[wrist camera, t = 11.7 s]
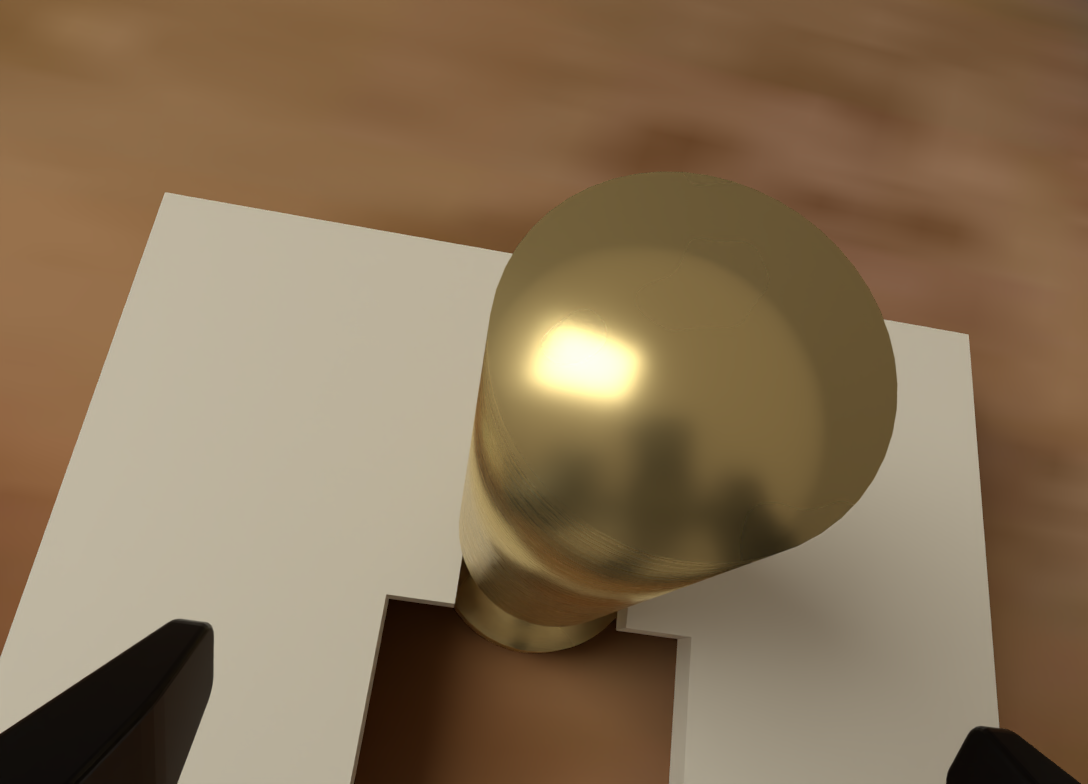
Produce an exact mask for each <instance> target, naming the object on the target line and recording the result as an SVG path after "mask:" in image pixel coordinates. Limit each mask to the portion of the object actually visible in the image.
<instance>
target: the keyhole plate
mask: <svg viewBox="0 0 1088 784" xmlns="http://www.w3.org/2000/svg"><path fill="white" fill-rule="evenodd" d="M512 255H513V254H511V253H505V252H499V251H494V250H488V249H482V248H477V247H471V246H465V245H460V244H454V243H448V242H443V241H437V240H431V239H426V238H420V237H414V236H409V235H403V234H398V233H392V232H386V231H381V230H375V229H369V228H364V227H358V226H352V225H347V224H341V223H335V222H330V221H324V220H318V219H313V218H307V217H301V216H296V215H290V214H285V213H279V212H273V211H268V210H262V209H256V208H251V207H245V206H239V205H234V204H228V203H222V202H217V201H211V200H205V199H200V198H194V197H189V196H183V195H177V194H172V193H166V192H165V194H164V197H163V200H162V202H161V205H160V208H159V211H158V214H157V217H156V219H155V222H154V225H153V228H152V231H151V233H150V236H149V239H148V242H147V245H146V248H145V250H144V253H143V256H142V259H141V262H140V265H139V267H138V270H137V273H136V276H135V279H134V282H133V284H132V287H131V290H130V293H129V296H128V298H127V301H126V304H125V307H124V310H123V313H122V315H121V318H120V321H119V324H118V327H117V330H116V332H115V335H114V338H113V341H112V344H111V346H110V349H109V352H108V355H107V358H106V361H105V363H104V366H103V369H102V372H101V375H100V378H99V380H98V383H97V386H96V389H95V392H94V395H93V397H92V400H91V403H90V406H89V409H88V411H87V414H86V417H85V420H84V423H83V426H82V428H81V431H80V434H79V437H78V440H77V443H76V445H75V448H74V451H73V454H72V457H71V460H70V462H69V465H68V468H67V471H66V474H65V476H64V479H63V482H62V485H61V488H60V491H59V493H58V496H57V499H56V502H55V505H54V508H53V510H52V513H51V516H50V519H49V522H48V525H47V527H46V530H45V533H44V536H43V539H42V541H41V544H40V547H39V550H38V553H37V556H36V558H35V561H34V564H33V567H32V570H31V573H30V575H29V578H28V581H27V584H26V587H25V590H24V592H23V595H22V598H21V601H20V604H19V606H18V609H17V612H16V615H15V618H14V621H13V623H12V626H11V629H10V632H9V635H8V638H7V640H6V643H5V646H4V649H3V652H2V655H1V657H0V733H2V732H3V731H5V730H6V729H8V728H9V727H11V726H12V725H14V724H15V723H17V722H18V721H20V720H21V719H23V718H24V717H26V716H27V715H29V714H30V713H32V712H33V711H35V710H36V709H38V708H39V707H41V706H42V705H44V704H45V703H47V702H48V701H50V700H52V699H53V698H55V697H56V696H58V695H59V694H61V693H62V692H64V691H65V690H67V689H68V688H70V687H71V686H73V685H74V684H76V683H77V682H79V681H80V680H82V679H83V678H85V677H86V676H88V675H89V674H91V673H92V672H94V671H95V670H97V669H98V668H100V667H101V666H103V665H104V664H106V663H107V662H109V661H110V660H112V659H113V658H115V657H116V656H118V655H119V654H121V653H122V652H124V651H125V650H127V649H128V648H130V647H131V646H133V645H134V644H136V643H137V642H139V641H140V640H142V639H143V638H145V637H146V636H148V635H149V634H151V633H152V632H154V631H155V630H157V629H158V628H160V627H161V626H163V625H164V624H166V623H167V622H169V621H171V620H174V619H188V620H195V621H203V622H208V623H209V624H211V625H212V627H213V631H214V678H213V686H212V690H211V694H210V698H209V701H208V704H207V706H206V709H205V712H204V714H203V717H202V719H201V722H200V725H199V727H198V730H197V733H196V735H195V738H194V741H193V743H192V746H191V749H190V751H189V754H188V757H187V759H186V762H185V765H184V767H183V770H182V773H181V775H180V778H179V781H178V783H177V784H354V781H355V776H356V770H357V765H358V760H359V754H360V749H361V744H362V739H363V733H364V728H365V723H366V717H367V712H368V707H369V702H370V696H371V691H372V686H373V681H374V675H375V670H376V665H377V659H378V654H379V649H380V644H381V638H382V633H383V628H384V623H385V617H386V612H387V607H388V601H389V599H394V600H402V601H409V602H416V603H423V604H430V605H437V606H445V607H452V608H454V605H455V599H456V593H457V586H458V580H459V574H460V568H461V561H462V555H463V554H462V551H461V545H460V539H459V518H460V510H461V503H462V496H463V490H464V483H465V477H466V470H467V463H468V457H469V450H470V444H471V437H472V430H473V424H474V417H475V411H476V404H477V398H478V391H479V384H480V378H481V371H482V365H483V358H484V351H485V345H486V338H487V332H488V325H489V318H490V313H491V308H492V304H493V300H494V296H495V292H496V288H497V286H498V284H499V281H500V279H501V276H502V274H503V271H504V269H505V266H506V265H507V263H508V261H509V260H510V258H511V256H512ZM884 322H885V325H886V327H887V330H888V333H889V336H890V340H891V344H892V349H893V353H894V357H895V364H896V373H897V383H898V387H897V411H896V417H895V423H894V429H893V434H892V437H891V440H890V443H889V446H888V449H887V453H886V456H885V458H884V460H883V462H882V464H881V466H880V468H879V470H878V472H877V474H876V476H875V478H874V480H873V481H872V483H871V484H870V485H869V487H868V488H867V490H866V491H865V493H864V494H863V495H862V497H861V498H860V500H859V501H858V502H857V503H856V504H855V505H854V506H853V507H852V508H851V509H850V510H849V511H848V512H847V513H846V514H845V515H844V516H843V517H842V518H841V519H840V520H838V521H837V522H836V523H834V524H833V525H832V526H830V527H829V528H828V529H827V530H825V531H824V532H823V533H821V534H819V535H818V536H816V537H814V538H812V539H810V540H808V541H806V542H805V543H803V544H801V545H799V546H797V547H794V548H791V549H789V550H786V551H783V552H780V553H778V554H775V555H772V556H769V557H766V558H764V559H761V560H758V561H755V562H753V563H750V564H747V565H744V566H741V567H739V568H736V569H733V570H730V571H728V572H725V573H722V574H719V575H716V576H714V577H711V578H708V579H705V580H702V581H700V582H697V583H694V584H691V585H689V586H686V587H683V588H680V589H677V590H675V591H672V592H669V593H666V594H664V595H661V596H658V597H655V598H652V599H650V600H647V601H644V602H641V603H639V604H636V605H633V606H630V607H627V608H625V609H622V610H619V611H618V612H617V624H616V631H623V632H630V633H638V634H645V635H652V636H659V637H666V638H673V639H678V641H677V657H676V674H675V691H674V708H673V724H672V741H671V758H670V775H669V784H946V777H947V772H948V770H949V768H950V766H951V764H952V762H953V760H954V759H955V757H956V755H957V753H958V751H959V749H960V748H961V746H962V744H963V742H964V740H965V738H966V737H967V735H968V733H969V732H970V730H972V729H973V728H975V727H976V726H987V727H995V728H999V717H998V704H997V691H996V678H995V666H994V653H993V640H992V627H991V615H990V602H989V589H988V576H987V564H986V551H985V538H984V525H983V513H982V500H981V487H980V474H979V462H978V449H977V436H976V423H975V410H974V398H973V385H972V372H971V359H970V347H969V335H968V334H962V333H957V332H951V331H946V330H940V329H934V328H929V327H923V326H917V325H912V324H906V323H900V322H895V321H889V320H884Z"/></svg>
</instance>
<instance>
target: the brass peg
mask: <svg viewBox="0 0 1088 784" xmlns="http://www.w3.org/2000/svg"><path fill="white" fill-rule="evenodd" d="M897 387H898V383H897V373H896V364H895V357H894V353H893V349H892V344H891V340H890V336H889V333H888V330H887V327H886V325H885V322H884V319H883V317H882V314H881V311H880V309H879V307H878V305H877V303H876V301H875V299H874V298H873V296H872V294H871V292H870V290H869V288H868V286H867V285H866V283H865V282H864V280H863V279H862V277H861V276H860V274H859V273H858V271H857V270H856V268H855V267H854V266H853V265H852V263H851V262H850V261H849V260H848V259H847V257H846V256H845V255H844V254H843V253H842V251H841V250H840V249H839V248H838V247H837V246H836V245H835V244H834V243H833V242H832V241H831V240H830V239H829V238H828V237H827V236H826V235H825V234H824V233H823V232H822V231H821V230H819V229H818V228H817V227H816V226H814V225H813V224H812V223H811V222H809V221H808V220H807V219H805V218H804V217H803V216H802V215H800V214H799V213H797V212H796V211H794V210H792V209H791V208H789V207H787V206H786V205H784V204H783V203H781V202H779V201H778V200H776V199H774V198H772V197H769V196H767V195H765V194H763V193H761V192H759V191H757V190H755V189H752V188H749V187H747V186H744V185H741V184H738V183H736V182H733V181H729V180H725V179H721V178H717V177H713V176H709V175H701V174H694V173H686V172H652V173H641V174H634V175H629V176H625V177H620V178H616V179H612V180H609V181H606V182H603V183H600V184H598V185H595V186H592V187H589V188H587V189H586V190H584V191H582V192H580V193H578V194H576V195H574V196H572V197H570V198H568V199H567V200H565V201H564V202H562V203H561V204H560V205H558V206H557V207H555V208H554V209H552V210H551V211H550V212H549V213H547V214H546V215H545V216H544V217H543V218H542V219H541V220H540V221H539V222H538V223H537V224H536V225H535V226H533V227H532V229H531V230H530V231H529V232H528V234H527V235H526V236H525V237H524V239H523V240H522V241H521V242H520V244H519V245H518V246H517V248H516V249H515V251H514V253H513V255H512V256H511V258H510V260H509V261H508V263H507V265H506V266H505V269H504V271H503V274H502V276H501V279H500V281H499V284H498V286H497V288H496V292H495V296H494V300H493V304H492V308H491V313H490V318H489V325H488V332H487V338H486V345H485V351H484V358H483V365H482V371H481V378H480V384H479V391H478V398H477V404H476V411H475V417H474V424H473V430H472V437H471V444H470V450H469V457H468V463H467V470H466V477H465V483H464V490H463V496H462V503H461V510H460V518H459V539H460V545H461V551H462V554H463V555H462V561H461V568H460V574H459V580H458V586H457V593H456V599H455V605H454V609H455V611H456V612H457V614H458V615H459V616H460V617H461V618H462V620H463V621H464V622H465V623H466V624H467V625H468V626H469V627H470V628H471V629H472V630H473V631H474V632H476V633H477V634H478V635H480V636H481V637H483V638H484V639H486V640H487V641H489V642H491V643H493V644H495V645H497V646H500V647H503V648H505V649H508V650H512V651H517V652H522V653H548V652H553V651H557V650H562V649H567V648H570V647H573V646H576V645H579V644H581V643H583V642H585V641H587V640H589V639H591V638H593V637H594V636H596V635H597V634H598V633H600V632H601V631H602V630H604V629H605V628H606V627H607V626H608V625H609V624H610V623H611V622H612V621H613V620H614V619H615V618H616V617H617V612H618V611H619V610H622V609H625V608H627V607H630V606H633V605H636V604H639V603H641V602H644V601H647V600H650V599H652V598H655V597H658V596H661V595H664V594H666V593H669V592H672V591H675V590H677V589H680V588H683V587H686V586H689V585H691V584H694V583H697V582H700V581H702V580H705V579H708V578H711V577H714V576H716V575H719V574H722V573H725V572H728V571H730V570H733V569H736V568H739V567H741V566H744V565H747V564H750V563H753V562H755V561H758V560H761V559H764V558H766V557H769V556H772V555H775V554H778V553H780V552H783V551H786V550H789V549H791V548H794V547H797V546H799V545H801V544H803V543H805V542H806V541H808V540H810V539H812V538H814V537H816V536H818V535H819V534H821V533H823V532H824V531H825V530H827V529H828V528H829V527H830V526H832V525H833V524H834V523H836V522H837V521H838V520H840V519H841V518H842V517H843V516H844V515H845V514H846V513H847V512H848V511H849V510H850V509H851V508H852V507H853V506H854V505H855V504H856V503H857V502H858V501H859V500H860V498H861V497H862V495H863V494H864V493H865V491H866V490H867V488H868V487H869V485H870V484H871V483H872V481H873V480H874V478H875V476H876V474H877V472H878V470H879V468H880V466H881V464H882V462H883V460H884V458H885V456H886V453H887V449H888V446H889V443H890V440H891V437H892V434H893V429H894V423H895V417H896V411H897Z"/></svg>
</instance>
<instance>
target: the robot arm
mask: <svg viewBox="0 0 1088 784" xmlns="http://www.w3.org/2000/svg"><path fill="white" fill-rule="evenodd" d="M213 678H214V631H213V627H212V625H211V624H209V623H208V622H203V621H195V620H188V619H174V620H171V621H169V622H167V623H166V624H164V625H163V626H161V627H160V628H158V629H157V630H155V631H154V632H152V633H151V634H149V635H148V636H146V637H145V638H143V639H142V640H140V641H139V642H137V643H136V644H134V645H133V646H131V647H130V648H128V649H127V650H125V651H124V652H122V653H121V654H119V655H118V656H116V657H115V658H113V659H112V660H110V661H109V662H107V663H106V664H104V665H103V666H101V667H100V668H98V669H97V670H95V671H94V672H92V673H91V674H89V675H88V676H86V677H85V678H83V679H82V680H80V681H79V682H77V683H76V684H74V685H73V686H71V687H70V688H68V689H67V690H65V691H64V692H62V693H61V694H59V695H58V696H56V697H55V698H53V699H52V700H50V701H48V702H47V703H45V704H44V705H42V706H41V707H39V708H38V709H36V710H35V711H33V712H32V713H30V714H29V715H27V716H26V717H24V718H23V719H21V720H20V721H18V722H17V723H15V724H14V725H12V726H11V727H9V728H8V729H6V730H5V731H3V732H2V733H0V784H177V783H178V781H179V778H180V775H181V773H182V770H183V767H184V765H185V762H186V759H187V757H188V754H189V751H190V749H191V746H192V743H193V741H194V738H195V735H196V733H197V730H198V727H199V725H200V722H201V719H202V717H203V714H204V712H205V709H206V706H207V704H208V701H209V698H210V694H211V690H212V686H213ZM946 784H1081V783H1079V782H1078V781H1077V780H1076V779H1074V778H1073V777H1072V776H1070V775H1069V774H1068V773H1067V772H1065V771H1064V770H1063V769H1061V768H1060V767H1059V766H1057V765H1056V764H1055V763H1054V762H1052V761H1051V760H1050V759H1048V758H1047V757H1046V756H1045V755H1043V754H1042V753H1041V752H1039V751H1038V750H1037V749H1036V748H1034V747H1033V746H1032V745H1030V744H1029V743H1028V742H1026V741H1025V740H1024V739H1023V738H1021V737H1020V736H1019V735H1017V734H1016V733H1014V732H1012V731H1010V730H1007V729H1002V728H995V727H987V726H976V727H975V728H973V729H972V730H970V732H969V733H968V735H967V737H966V738H965V740H964V742H963V744H962V746H961V748H960V749H959V751H958V753H957V755H956V757H955V759H954V760H953V762H952V764H951V766H950V768H949V770H948V772H947V777H946Z"/></svg>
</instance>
